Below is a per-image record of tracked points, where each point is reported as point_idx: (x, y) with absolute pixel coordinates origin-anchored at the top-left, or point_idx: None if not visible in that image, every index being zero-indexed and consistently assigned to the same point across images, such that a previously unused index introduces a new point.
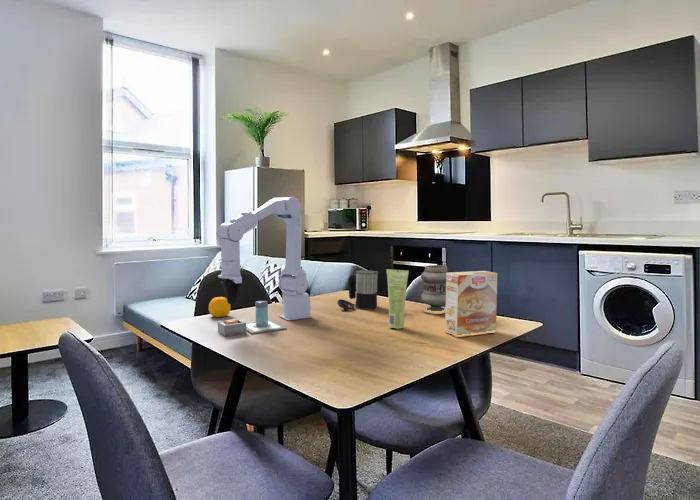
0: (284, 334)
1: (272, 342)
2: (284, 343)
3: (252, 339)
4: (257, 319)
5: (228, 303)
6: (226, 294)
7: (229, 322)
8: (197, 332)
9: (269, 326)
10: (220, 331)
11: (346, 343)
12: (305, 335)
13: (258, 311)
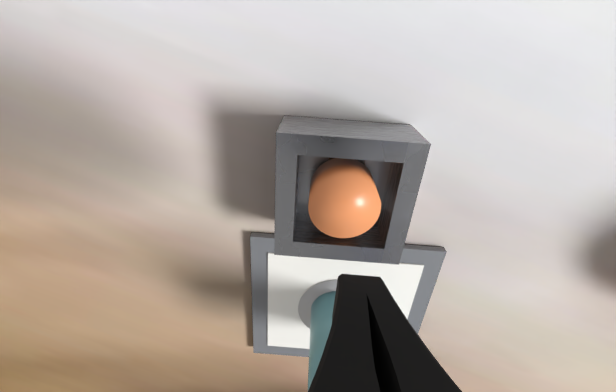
0: (185, 314)
1: (82, 239)
2: (53, 264)
3: (163, 200)
4: (330, 320)
5: (360, 275)
6: (385, 350)
7: (320, 184)
8: (500, 7)
9: (303, 323)
10: (361, 124)
11: (5, 376)
12: (140, 349)
13: None
